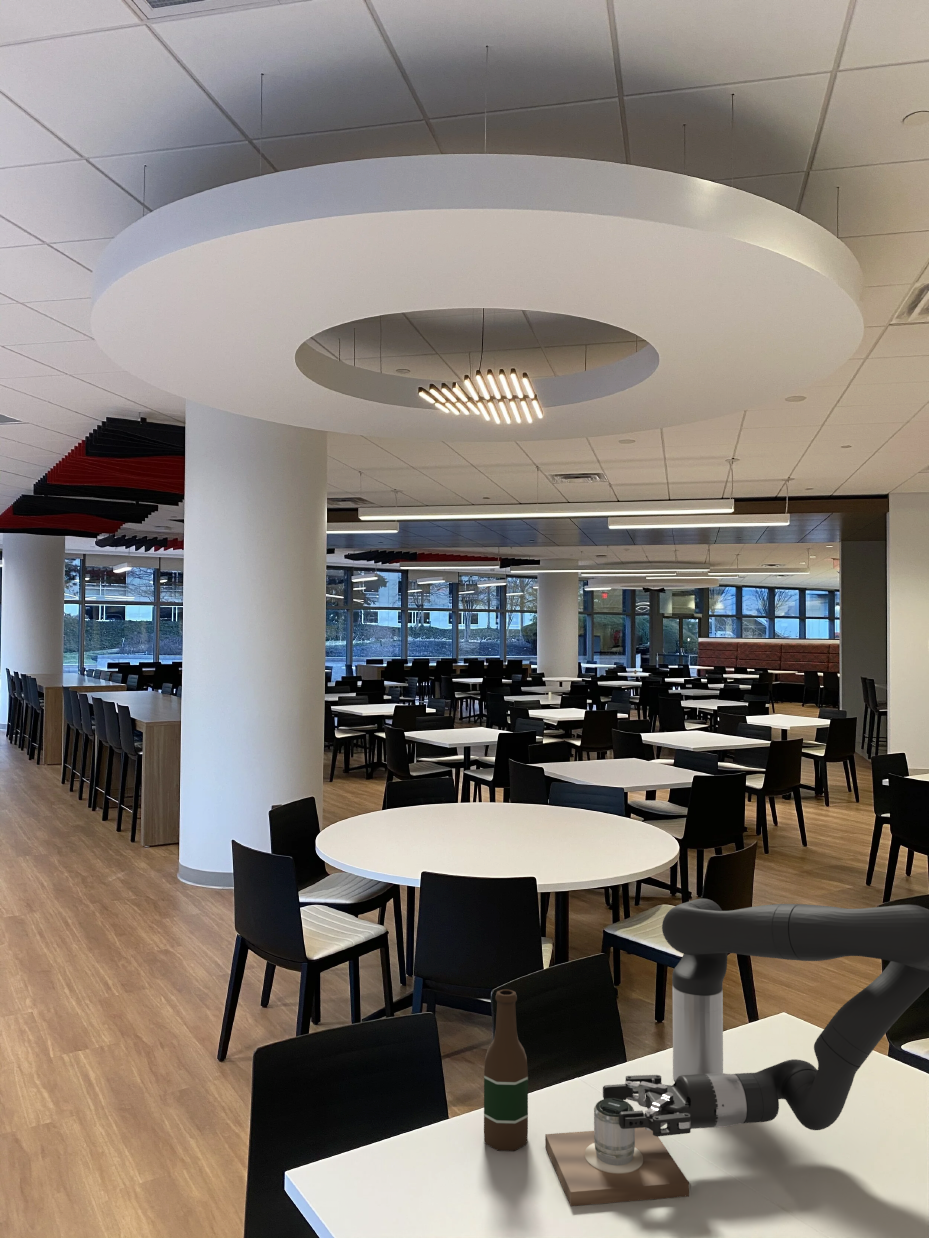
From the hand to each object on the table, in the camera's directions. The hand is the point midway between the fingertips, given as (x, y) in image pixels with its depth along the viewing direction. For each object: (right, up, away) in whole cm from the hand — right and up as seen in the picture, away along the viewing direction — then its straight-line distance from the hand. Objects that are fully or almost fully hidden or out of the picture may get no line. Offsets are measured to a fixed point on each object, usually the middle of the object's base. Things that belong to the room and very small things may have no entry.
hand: (611, 1106), depth 140 cm
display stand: (0, -10, -1) cm, 10 cm away
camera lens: (0, -8, 0) cm, 8 cm away
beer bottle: (-16, -10, +8) cm, 21 cm away
